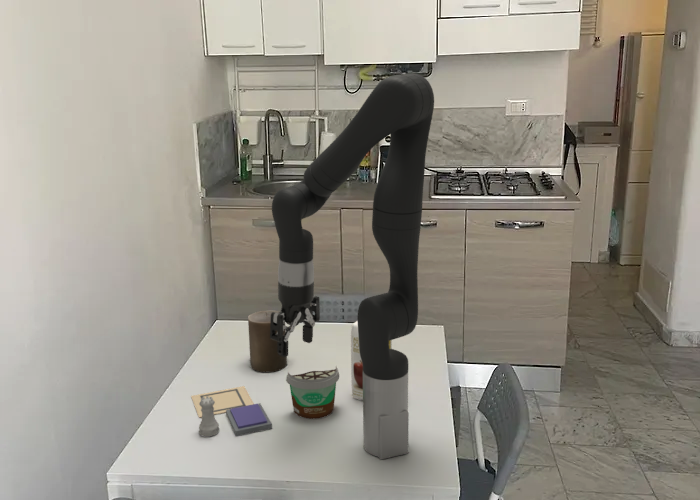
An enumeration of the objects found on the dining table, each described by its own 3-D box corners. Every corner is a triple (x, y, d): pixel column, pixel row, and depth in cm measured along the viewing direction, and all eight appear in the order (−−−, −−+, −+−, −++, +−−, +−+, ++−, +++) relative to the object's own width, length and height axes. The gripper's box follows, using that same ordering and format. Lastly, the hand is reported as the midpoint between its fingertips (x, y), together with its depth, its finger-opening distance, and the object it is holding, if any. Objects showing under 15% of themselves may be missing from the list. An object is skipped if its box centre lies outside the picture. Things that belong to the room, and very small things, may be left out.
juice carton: (363, 385, 169) (363, 313, 164) (394, 393, 165) (395, 320, 159) (348, 398, 163) (346, 324, 158) (379, 407, 158) (379, 331, 153)
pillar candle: (285, 372, 177) (283, 317, 173) (247, 372, 177) (244, 318, 173) (288, 357, 186) (286, 305, 182) (252, 357, 186) (250, 305, 182)
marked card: (255, 406, 159) (255, 405, 159) (199, 417, 155) (199, 416, 155) (244, 386, 169) (244, 385, 169) (191, 396, 165) (191, 395, 165)
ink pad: (272, 428, 150) (271, 421, 149) (236, 436, 147) (235, 429, 147) (260, 407, 159) (260, 401, 158) (226, 414, 156) (225, 408, 156)
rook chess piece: (222, 427, 151) (219, 394, 149) (216, 438, 147) (213, 404, 144) (202, 426, 151) (199, 393, 149) (196, 437, 147) (193, 403, 145)
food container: (292, 425, 151) (290, 384, 148) (287, 412, 157) (285, 372, 154) (346, 417, 154) (345, 376, 152) (339, 404, 160) (338, 365, 157)
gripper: (288, 292, 136) (288, 366, 141) (330, 273, 147) (328, 341, 152) (260, 284, 140) (260, 355, 145) (302, 266, 151) (301, 332, 156)
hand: (295, 348), depth 148 cm, fingers open, 8 cm apart
